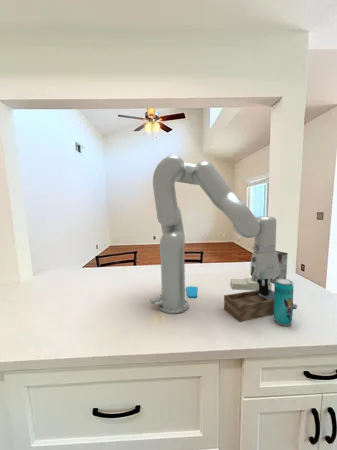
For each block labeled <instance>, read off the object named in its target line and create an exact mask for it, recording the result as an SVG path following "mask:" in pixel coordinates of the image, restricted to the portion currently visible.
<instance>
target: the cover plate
mask: <svg viewBox="0 0 337 450" xmlns="http://www.w3.org/2000/svg"><path fill="white" fill-rule="evenodd" d="M258 295H260V296H262V297H263V298H265V299H267V300H271V299H274V290H272V289H271V290H270V289H268V295H267V296H263V295H261V294H260V293H259V294H258ZM294 308H295V309H297V308H298V305H297V304H296V303H294V302H293V309H294Z"/></svg>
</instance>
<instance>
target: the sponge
mask: <svg viewBox="0 0 337 450" xmlns="http://www.w3.org/2000/svg"><path fill="white" fill-rule="evenodd" d="M185 294H186V296H187V298H188V299H197V298H198V286H186V287H185Z"/></svg>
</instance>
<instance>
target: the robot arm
mask: <svg viewBox="0 0 337 450" xmlns="http://www.w3.org/2000/svg"><path fill="white" fill-rule="evenodd" d="M176 182H177V183H183V184H189V185H194V186H195V185H197V186H199V187H200V188H201V189H202V190H203V192H204V194H206V196H207V197H208V198H209V200H210V201H211V203H212V204H213V205H214V206H215V207H216V208H218V210H220V211H221V212H222V213H223V214H224V215H225V216H226V217H227V218H228V219H229V221H230V222H231V223H232V228H233V230H234V232H235V233H237V234H238V235H240V236H242V237H244V238H245V239H251V238H253V239H254V240H253V241H254V242H253V243H254V244H253V245H254V246H252V248H251V249H252V250H253V252H252V255H251V260H250V275H251V277H250V278H251V280H252V281H254V282H257V283H258V284H259V293H260V294H261V295H263V296H267V295H268V285H270V283H272V282H271V281H272V280H273V279H275V278H276V277H278V276H279V260H278V254H277V252H275V251H277V250H276V244H277V242H276V241H277V239H276V238H277V219H276V217H274V216H269V215H268V216H266V215H265V216H262V215H261V216H255V214H253V212H252V210H251V209H250V208H249V206H247V205H246V203H244V201H243V200H242V199H241V198H240V197H239V196H238V195H237V194H236V193H235V192H234V190H233V189H232V188H231V187H230V186H229V184H228V183H227V181H226V180H225V179H224V178H223V176H222V175H221V174H220V172H218V170H217V169H216V167H215V166H214V165H213V163H211V162H209V161H208V160H207V161H206V160H202V161H199V162H198V163H196V164H195V163H188V162H185V161H184V160H183V159H182V158H181V157H180V156H178V155H176V154H175V155H174V154H173V155H172V154H171V155H168V156H166V157H164V158H163V159H161V161H160V162H159V163H158V164H157V165H156V167H155V169H154V172H153V175H152V187H153V194H154V195H153V196H154V204H155V209H156V210H155V211H156V218H157V221H158V223H159V224H160V227H161V231H162V234H161V237H160V240H159V241H160V242H159V253H160V271H161V273H160V274H161V275H160V277H161V283H160V284H161V294H159V296H158V297H157V298H150V302H149V303H150V305H153V304H154V306H155V307H158V309H159V310H160V311H161V312H162V313H166V314H181V313H184V312H186V311H187V310H188V309H189V306H190V303H189V301H187V299H186V287H185V285H186V281H185V280H186V275H185V273H186V271H185V270H186V269H185V268H186V267H185V266H186V264H185V243H186V240H185V238H186V237H185V231H184V225H183V217H182V211H181V209H180V208H179V206H178V205H179V204H178V201H177V192H176V186H175V185H176V184H175V183H176Z"/></svg>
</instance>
